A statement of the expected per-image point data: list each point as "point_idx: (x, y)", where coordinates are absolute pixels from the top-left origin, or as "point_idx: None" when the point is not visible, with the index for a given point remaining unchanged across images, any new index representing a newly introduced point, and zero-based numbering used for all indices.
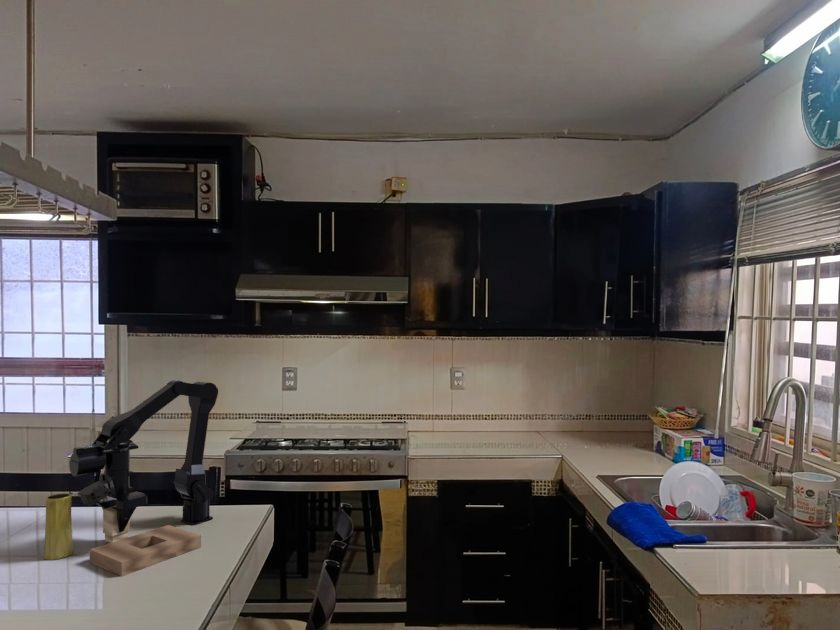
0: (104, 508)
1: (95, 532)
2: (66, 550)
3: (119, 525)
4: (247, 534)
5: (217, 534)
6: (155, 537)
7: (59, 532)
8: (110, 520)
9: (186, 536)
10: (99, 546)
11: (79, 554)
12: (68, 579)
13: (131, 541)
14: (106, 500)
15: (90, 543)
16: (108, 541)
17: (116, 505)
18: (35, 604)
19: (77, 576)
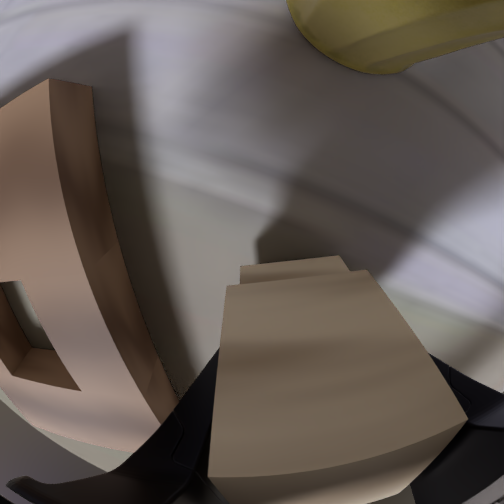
0: (476, 420)
1: (489, 274)
2: (304, 3)
3: (199, 376)
4: (89, 459)
5: (120, 454)
6: (65, 385)
7: None
8: (262, 375)
9: (32, 412)
10: (52, 141)
11: (275, 74)
12: (12, 16)
13: (39, 309)
14: (500, 486)
15: (407, 199)
16: (295, 261)
17: (423, 476)
18: None
19: (8, 42)
